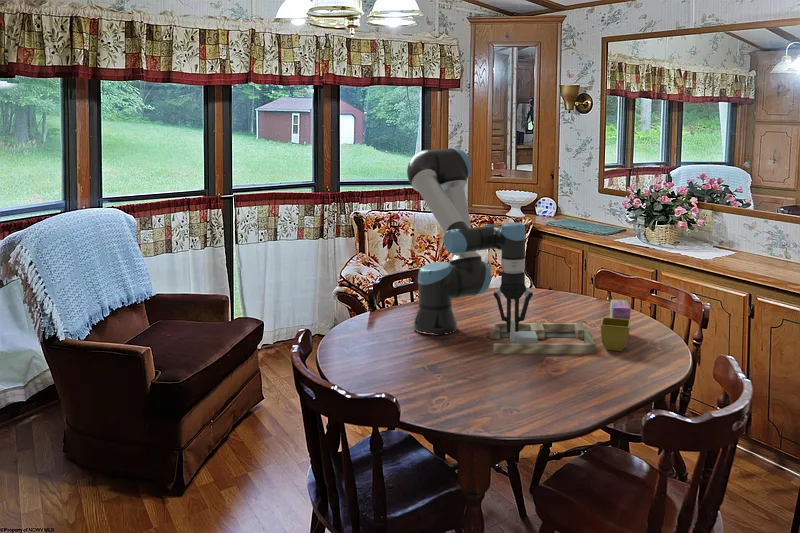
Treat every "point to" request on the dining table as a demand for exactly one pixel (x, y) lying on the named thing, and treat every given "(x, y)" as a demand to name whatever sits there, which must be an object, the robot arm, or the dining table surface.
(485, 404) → the dining table surface
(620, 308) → the box
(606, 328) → the flower pot
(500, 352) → the box
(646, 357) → the dining table surface
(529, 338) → the block
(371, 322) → the dining table surface
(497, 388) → the dining table surface
